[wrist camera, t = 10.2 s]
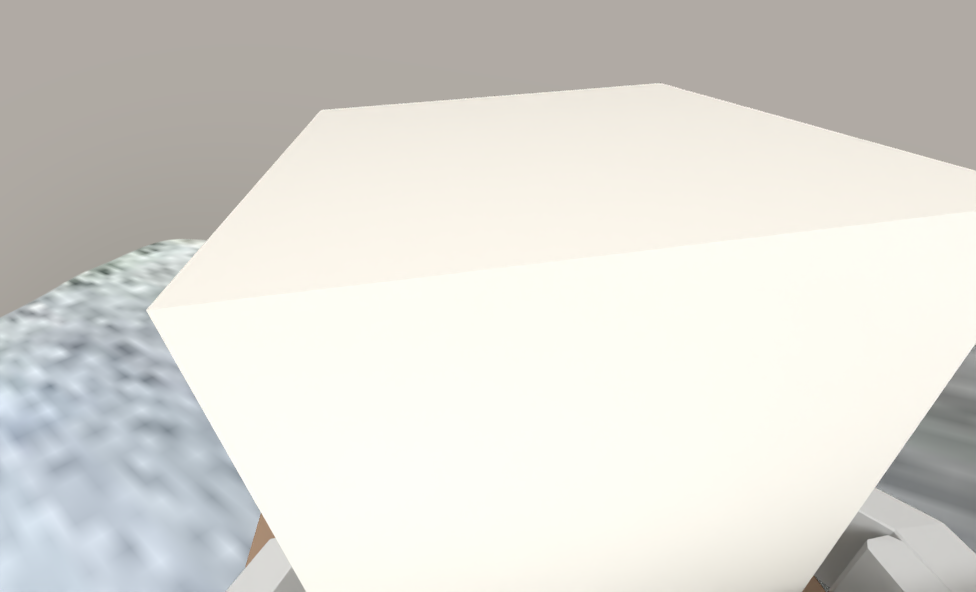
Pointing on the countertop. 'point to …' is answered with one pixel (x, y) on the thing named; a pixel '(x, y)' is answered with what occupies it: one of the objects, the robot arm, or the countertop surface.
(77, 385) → the countertop surface
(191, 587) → the countertop surface
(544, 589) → the housing
